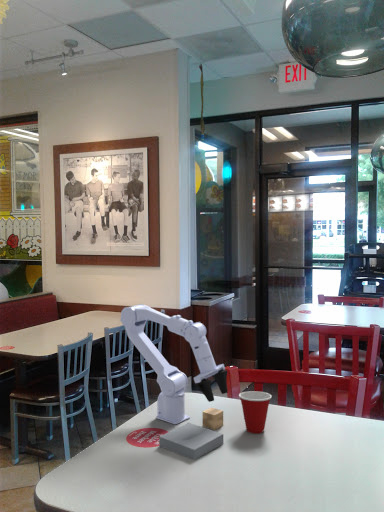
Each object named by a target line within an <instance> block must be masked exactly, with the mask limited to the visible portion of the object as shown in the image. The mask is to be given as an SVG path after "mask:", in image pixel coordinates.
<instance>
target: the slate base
mask: <svg viewBox="0 0 384 512" xmlns="http://www.w3.org/2000/svg"><path fill="white" fill-rule="evenodd" d="M158 438H159V439H158V440H159V441H158V445H159V447H160V448H163V449H165V450H169V451H170V452H172V453H175V454H177V455H180V456H183V457H186V458H188V459H190V460H191V459H192V460H194V461H195V460H197V459H199V458H201V457H202V456H204V455H206V454H208V453H210V452H211V451H213V450H214V449H216V448H218V447H219V446H222V445H223V444H224V433H222V432H218V431H215V430H213V429H210V428H207V427H204V426H201V425H197V424H194V423H193V422H192V423H191V422H187V423H185V424H183V425H181V426H178V427H177V428H175V429H173V430H170V431H168V432H166V433H164V434H162V435H160V436H159V437H158Z"/></svg>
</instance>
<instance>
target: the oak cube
mask: <svg viewBox="0 0 384 512" xmlns="http://www.w3.org/2000/svg"><path fill="white" fill-rule="evenodd" d="M223 426H224V410H221V409H217V408H214V407H210V408H207V409H205V410H203V411H202V427H204V428H207V429H210V430H213V431H215V430H217V429H219V428H220V427H223Z"/></svg>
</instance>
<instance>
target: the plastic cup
mask: <svg viewBox="0 0 384 512" xmlns="http://www.w3.org/2000/svg"><path fill="white" fill-rule="evenodd" d="M272 396H273V395H272V394H270V393H268V392H265V391H257V390H256V391H255V390H254V391H243V392H239V394H238V397H239V399H240V402H241V407H242V408H241V409H242V413H243V420H244V422H245V423H244V424H245V428H246V432H249V433H250V434H262V433H264V431H265V427H266V422H267V417H268V411H269V406H270V401H271V399H272Z"/></svg>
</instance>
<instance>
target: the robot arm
mask: <svg viewBox="0 0 384 512" xmlns="http://www.w3.org/2000/svg"><path fill="white" fill-rule="evenodd" d="M119 321H120V323H121V324H122V325H123V327H124V329H125V332H126V335H127V337H128V339H129V340H130V341H131V342H132V344H133V345H134V346H135V348H136V349H137V350H138V352H139V353H140V354H141V355H142V357H143V358H144V360H146V362H147V363H148V364H149V366H150V367H151V368H152V369H153V371H154V372H155V373H156V374H157V378H156V382H157V384H158V385H159V387H160V390H161V391H160V393H159V395H158V396H157V401H156V402H157V411H156V412H157V415H155V419H158V420H160V421H164V422H167V423H170V424H172V425H177V424H179V423H182V422H184V421H186V420H188V419H190V418H191V416H190V415H187V414H186V413H185V410H186V409H185V401H186V400H185V399H186V398H185V392H186V388H187V386H188V384H189V379H188V377H187V375H186V374H185V373H184V372H182V371H181V370H179V368H178V367H177V366H174V365H171V364H170V363H169V362H168V360H167V359H166V358H165V357H164V356H163V354H162V353H161V352H160V350H158V348H157V346H155V344H154V343H153V342H152V341H151V339H150V338H149V337H148V336H147V335H146V333H145V332H144V330H145V326H146V323H147V321H151V322H154V323H158V324H159V325H163V326H166V327H167V330H168V331H169V332H171V333H174V334H176V335H179V336H181V337H183V338H184V340H185V341H186V342H188V343H189V345H190V348H191V349H192V353H193V355H194V357H195V361H196V363H197V367H198V370H199V372H200V373H199V374H198V375H196V376H194V377H193V381H194V384H195V385H194V386H195V387H196V388H197V389H198V390H199V391H201V393H202V395H204V397H205V399H206V400H207V402H209V403H210V402H214V401H215V397H214V393H213V389H212V380H211V379H209V378H210V377H212V378H213V379H214V380H215V382H216V384H217V386H218V388H219V390H220V393H221V394H222V395H224V394H227V393H228V392H229V391H228V384H227V382H228V381H227V379H228V378H227V377H228V370H227V369H226V367H225V364H224V363H222V364H221V363H220V364H218V365H217V364H216V361H215V359H214V356H213V354H212V351H211V348H210V344H209V342H208V339H207V337H206V335H207V327H206V326H205V325H204V323H201V321H197V322H194V321H193V320H192V319H191V320H188V319H186V318H183V317H182V315H180V314H177V315H172V316H169V315H167V314H166V313H163V312H161V311H158V310H156V309H154V308H152V307H150V305H146V304H143V303H139V304H136V305H131V306H125V307H123V308H122V310H121V313H120V319H119ZM207 379H208V380H207Z"/></svg>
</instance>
